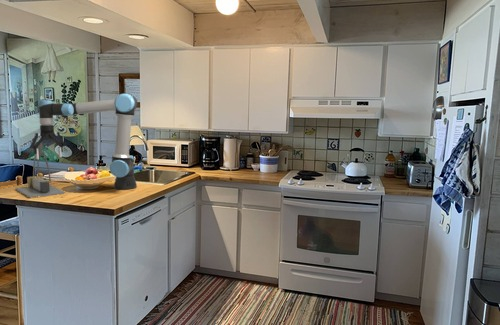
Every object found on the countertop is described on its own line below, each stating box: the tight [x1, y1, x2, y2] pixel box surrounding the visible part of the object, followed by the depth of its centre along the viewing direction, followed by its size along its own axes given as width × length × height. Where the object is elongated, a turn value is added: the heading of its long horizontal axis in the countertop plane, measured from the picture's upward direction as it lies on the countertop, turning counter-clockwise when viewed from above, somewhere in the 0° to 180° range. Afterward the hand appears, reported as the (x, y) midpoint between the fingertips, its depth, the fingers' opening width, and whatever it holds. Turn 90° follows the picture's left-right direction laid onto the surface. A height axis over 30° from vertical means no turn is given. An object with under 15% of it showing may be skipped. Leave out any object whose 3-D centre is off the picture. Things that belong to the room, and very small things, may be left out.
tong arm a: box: [36, 177, 50, 192], centre depth 230 cm, size 19×2×6 cm, turn 46°
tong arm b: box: [32, 178, 46, 192], centre depth 228 cm, size 19×2×6 cm, turn 47°
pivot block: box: [26, 175, 42, 188], centre depth 238 cm, size 5×7×8 cm
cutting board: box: [15, 184, 66, 199], centre depth 231 cm, size 30×20×1 cm, turn 47°
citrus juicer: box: [32, 141, 52, 184], centre depth 255 cm, size 11×10×30 cm
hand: (49, 158), depth 229 cm, fingers open, 13 cm apart
